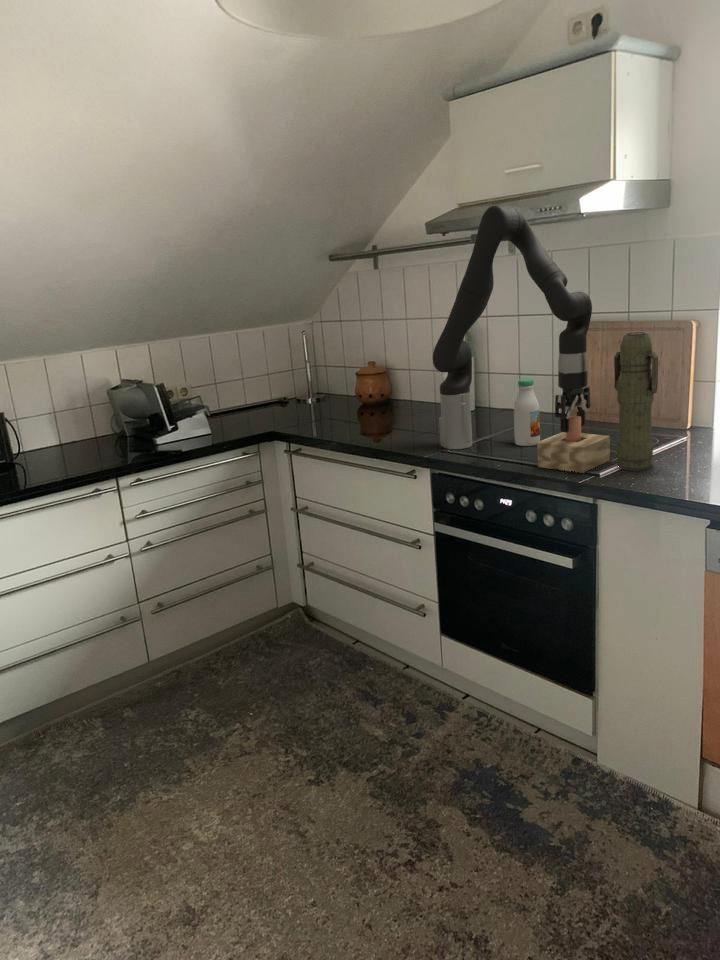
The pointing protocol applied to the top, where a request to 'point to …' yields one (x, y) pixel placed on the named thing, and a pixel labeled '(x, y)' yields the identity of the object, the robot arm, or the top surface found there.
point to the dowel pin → (574, 429)
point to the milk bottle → (526, 415)
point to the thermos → (635, 400)
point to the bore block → (573, 452)
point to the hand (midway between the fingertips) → (573, 428)
